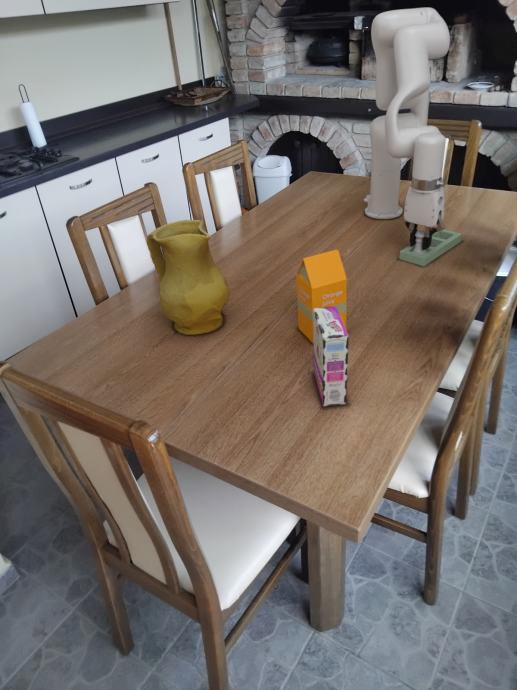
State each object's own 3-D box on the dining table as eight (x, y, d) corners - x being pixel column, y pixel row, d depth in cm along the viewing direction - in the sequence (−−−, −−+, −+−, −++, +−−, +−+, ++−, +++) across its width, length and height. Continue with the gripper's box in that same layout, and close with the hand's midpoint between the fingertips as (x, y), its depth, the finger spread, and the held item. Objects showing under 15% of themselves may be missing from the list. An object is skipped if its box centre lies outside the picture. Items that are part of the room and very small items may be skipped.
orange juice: (298, 328, 130) (294, 252, 119) (330, 318, 132) (329, 242, 121) (313, 344, 124) (311, 265, 113) (346, 333, 126) (348, 255, 115)
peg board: (399, 259, 156) (399, 251, 155) (437, 235, 167) (438, 227, 166) (423, 266, 151) (424, 258, 150) (461, 241, 162) (462, 233, 161)
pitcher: (178, 348, 126) (160, 246, 113) (154, 317, 141) (136, 224, 128) (244, 327, 132) (234, 229, 119) (214, 300, 147) (203, 209, 134)
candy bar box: (348, 405, 106) (349, 335, 97) (323, 407, 106) (322, 338, 96) (336, 370, 115) (337, 304, 106) (313, 373, 115) (311, 307, 106)
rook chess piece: (427, 261, 153) (430, 235, 149) (410, 261, 154) (413, 234, 150) (426, 254, 157) (429, 228, 152) (410, 254, 158) (412, 228, 153)
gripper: (462, 184, 140) (453, 249, 151) (407, 174, 151) (402, 235, 161) (447, 192, 136) (439, 259, 147) (391, 181, 146) (387, 244, 157)
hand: (419, 246), depth 154 cm, fingers closed on rook chess piece, 3 cm apart
